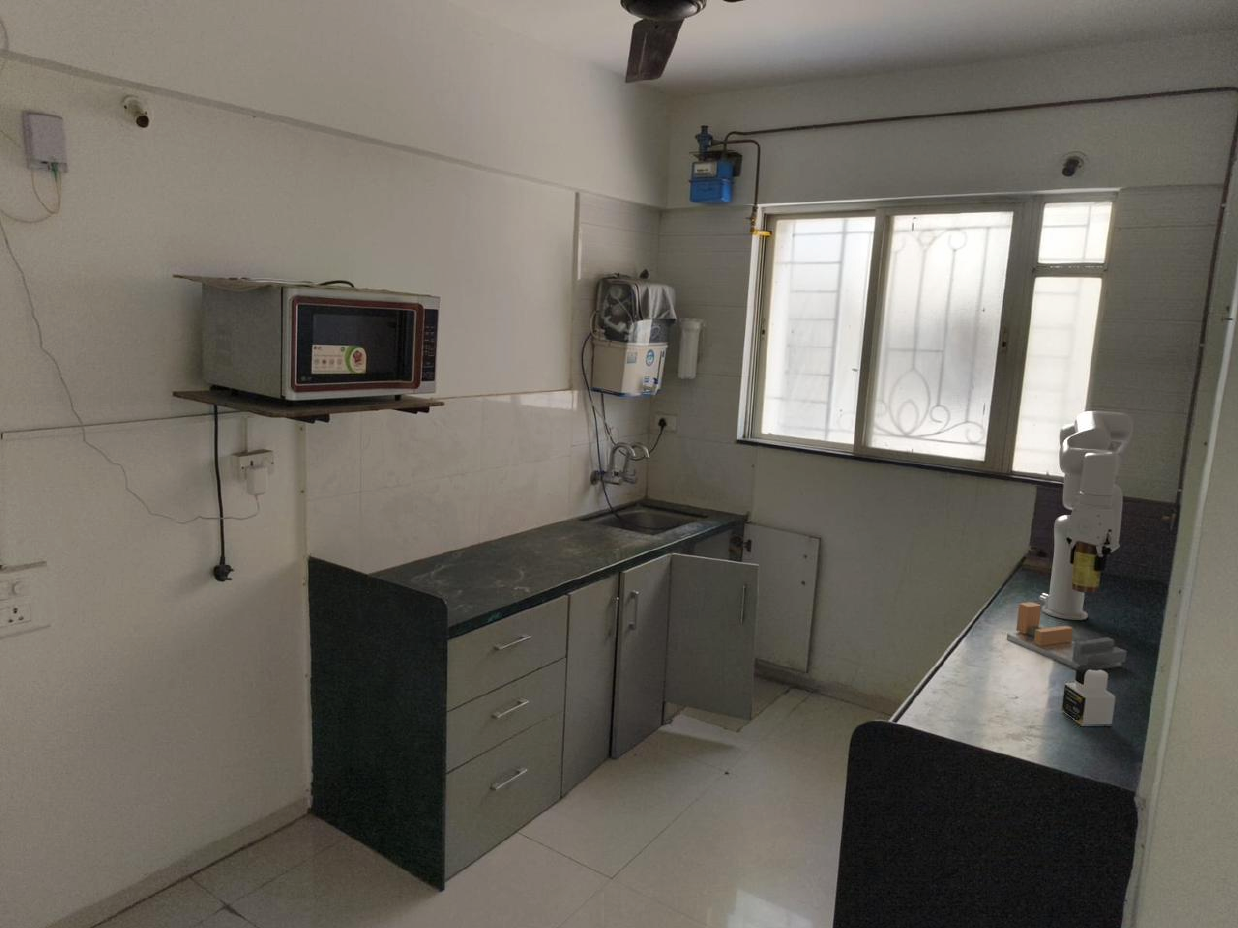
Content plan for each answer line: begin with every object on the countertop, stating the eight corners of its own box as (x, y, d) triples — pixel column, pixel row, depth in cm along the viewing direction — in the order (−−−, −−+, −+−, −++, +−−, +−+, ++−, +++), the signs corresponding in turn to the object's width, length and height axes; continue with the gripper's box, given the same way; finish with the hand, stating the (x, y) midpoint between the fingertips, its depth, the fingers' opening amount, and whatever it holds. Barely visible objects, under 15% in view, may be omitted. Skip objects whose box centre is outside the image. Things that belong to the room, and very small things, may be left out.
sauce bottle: (1101, 595, 206) (1111, 521, 203) (1075, 593, 207) (1085, 518, 204) (1091, 588, 212) (1101, 515, 209) (1066, 585, 213) (1076, 513, 210)
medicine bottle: (1060, 712, 179) (1066, 661, 177) (1090, 712, 179) (1096, 661, 178) (1081, 727, 172) (1088, 674, 170) (1112, 727, 172) (1119, 674, 171)
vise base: (1006, 638, 225) (1009, 616, 224) (1042, 634, 230) (1045, 612, 229) (1086, 673, 202) (1089, 649, 201) (1124, 667, 207) (1127, 643, 206)
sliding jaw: (1007, 631, 226) (1010, 604, 225) (1038, 628, 230) (1041, 601, 229) (1039, 645, 216) (1043, 617, 215) (1071, 641, 220) (1075, 613, 219)
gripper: (1055, 494, 213) (1048, 559, 215) (1116, 507, 197) (1107, 577, 199) (1076, 493, 215) (1068, 557, 218) (1137, 506, 200) (1128, 575, 202)
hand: (1086, 566), depth 209 cm, fingers closed on sauce bottle, 6 cm apart
